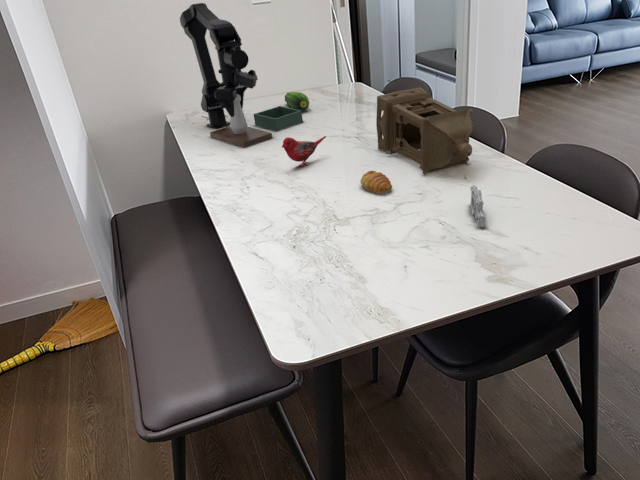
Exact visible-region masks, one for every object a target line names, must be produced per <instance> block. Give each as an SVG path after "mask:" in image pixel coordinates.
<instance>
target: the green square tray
mask: <svg viewBox="0 0 640 480" xmlns="http://www.w3.org/2000/svg"><path fill="white" fill-rule="evenodd" d="M252 116H253V121H254V126H256V127H260V128H263V129H266V130H270V131H274V132H279V131H282V130H284V129H287V128H290V127H293V126H296V125H299V124H302V123H304V119H303V111H300V110H296V109H292V108H291V107H287V106H282V105H278V106H274V107H272V108H269V109H266V110H262V111H259V112H255V113H253V115H252Z"/></svg>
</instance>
